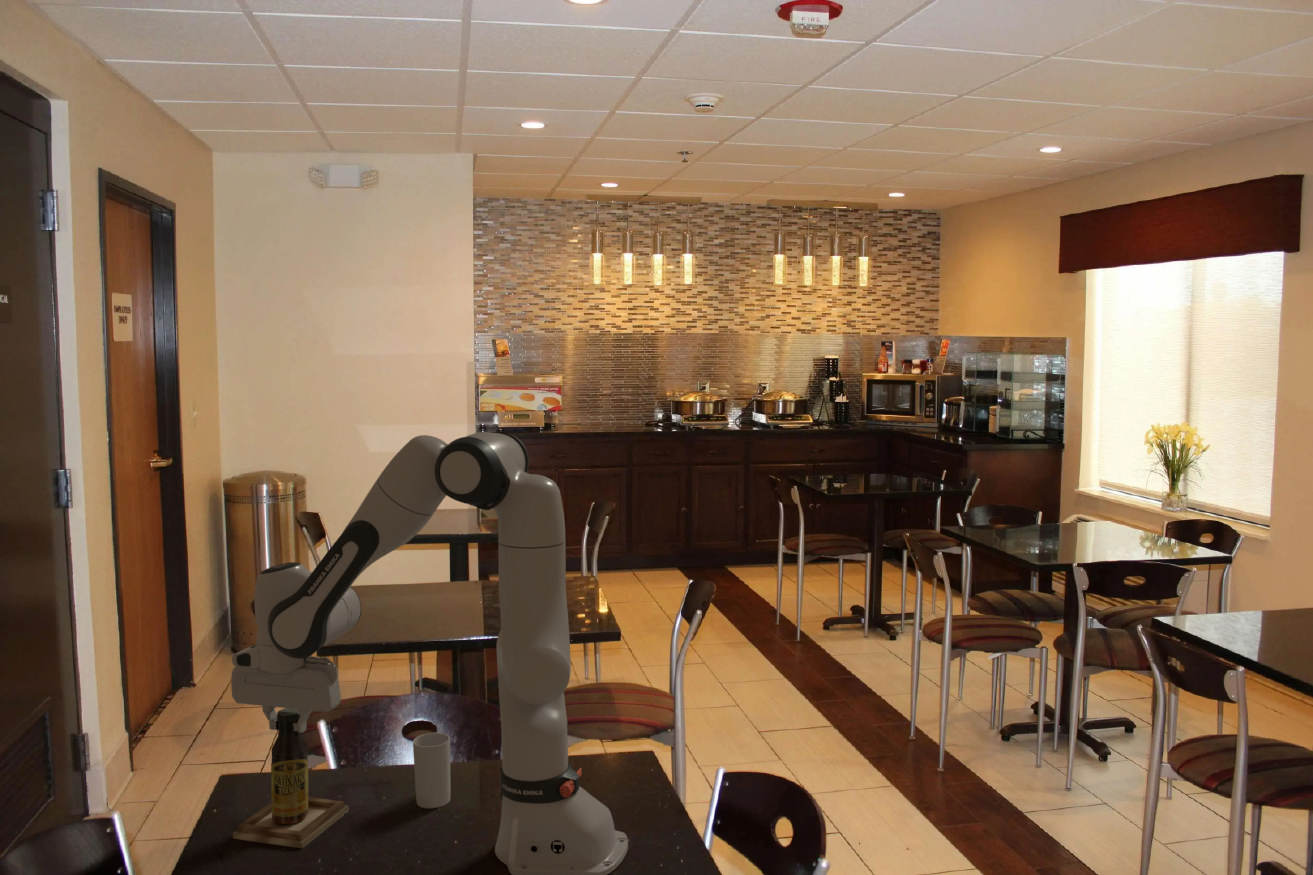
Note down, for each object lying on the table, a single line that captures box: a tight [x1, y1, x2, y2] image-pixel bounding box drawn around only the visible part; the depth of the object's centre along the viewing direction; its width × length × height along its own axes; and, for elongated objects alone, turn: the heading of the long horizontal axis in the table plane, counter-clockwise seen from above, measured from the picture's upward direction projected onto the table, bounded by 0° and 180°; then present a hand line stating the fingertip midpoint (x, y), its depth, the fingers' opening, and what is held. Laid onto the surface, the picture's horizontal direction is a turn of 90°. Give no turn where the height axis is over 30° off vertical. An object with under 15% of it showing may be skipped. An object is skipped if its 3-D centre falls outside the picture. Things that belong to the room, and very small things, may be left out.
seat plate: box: [232, 796, 350, 849], centre depth 178 cm, size 14×14×2 cm
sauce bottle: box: [270, 708, 309, 825], centre depth 177 cm, size 6×6×20 cm
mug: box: [412, 732, 451, 810], centre depth 188 cm, size 10×7×12 cm, turn 178°
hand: (287, 730), depth 176 cm, fingers closed on sauce bottle, 3 cm apart
